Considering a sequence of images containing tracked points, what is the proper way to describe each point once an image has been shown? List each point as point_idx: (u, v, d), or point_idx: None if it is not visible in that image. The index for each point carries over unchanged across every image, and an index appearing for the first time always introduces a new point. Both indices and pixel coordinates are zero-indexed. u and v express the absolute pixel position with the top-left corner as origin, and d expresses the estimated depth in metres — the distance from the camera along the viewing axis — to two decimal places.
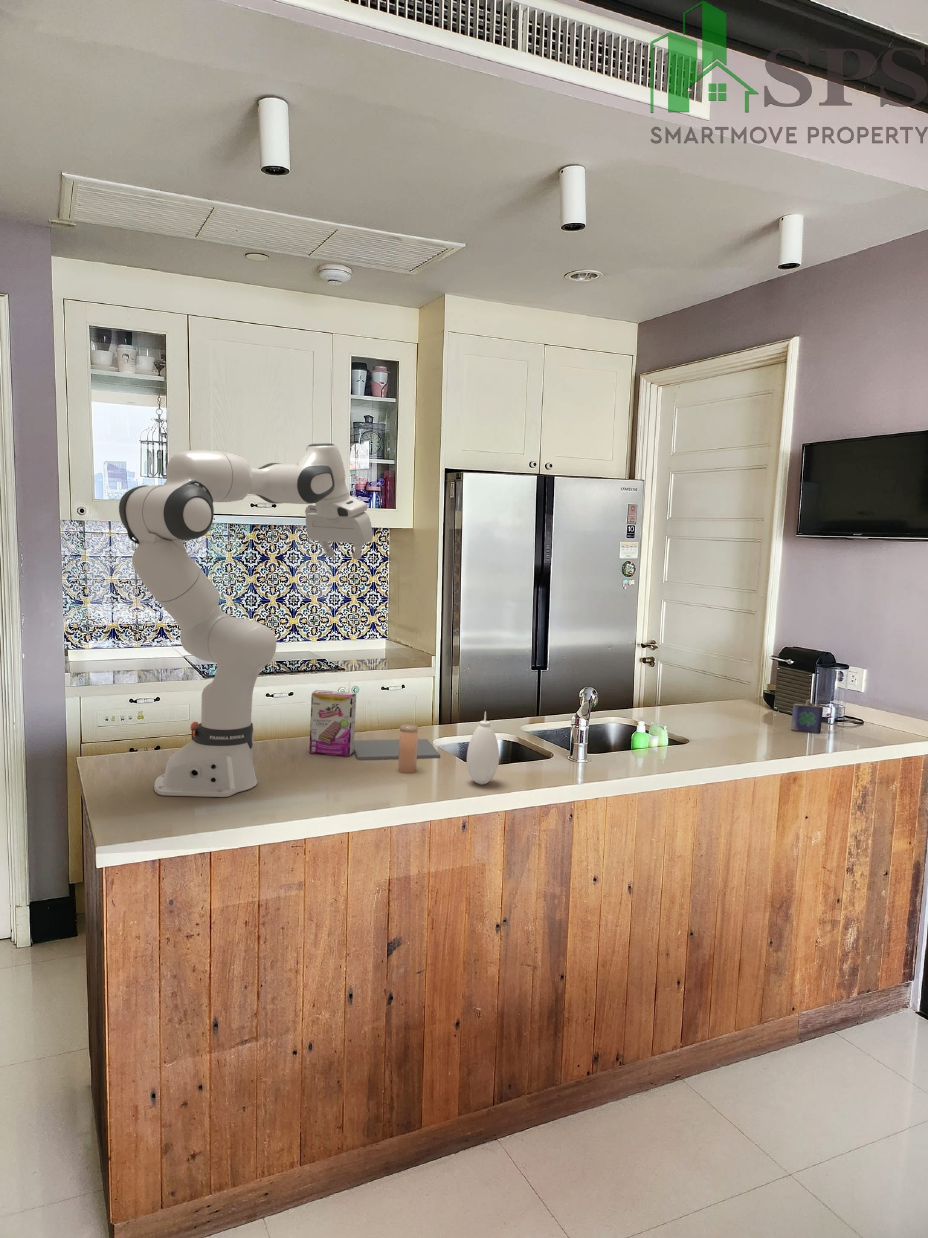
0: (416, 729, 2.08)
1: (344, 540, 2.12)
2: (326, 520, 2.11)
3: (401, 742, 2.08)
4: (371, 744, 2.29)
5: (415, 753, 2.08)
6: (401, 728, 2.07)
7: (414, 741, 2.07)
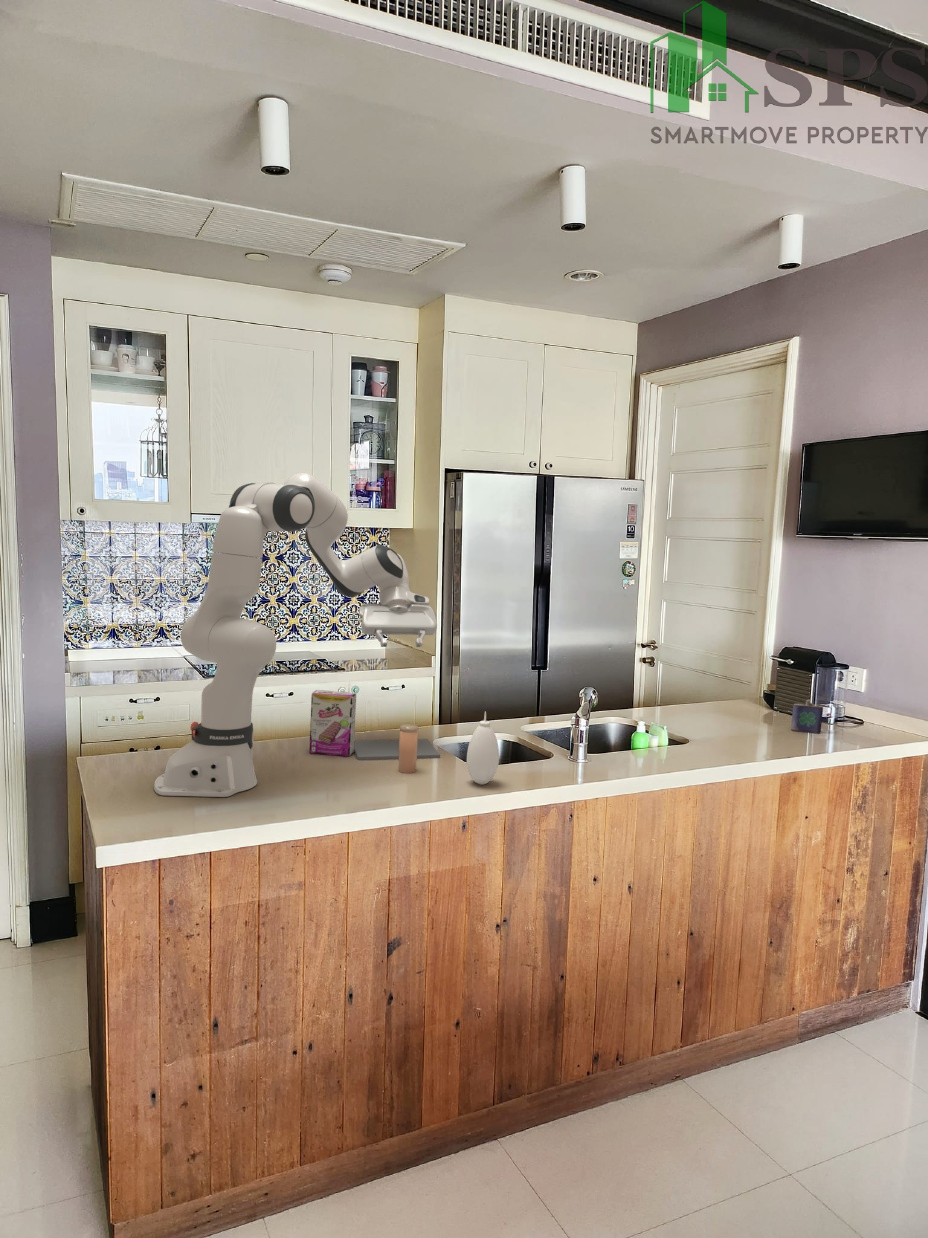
0: (416, 729, 2.08)
1: (413, 625, 2.22)
2: (397, 605, 2.23)
3: (401, 742, 2.08)
4: (371, 744, 2.29)
5: (415, 753, 2.08)
6: (401, 728, 2.07)
7: (414, 741, 2.07)
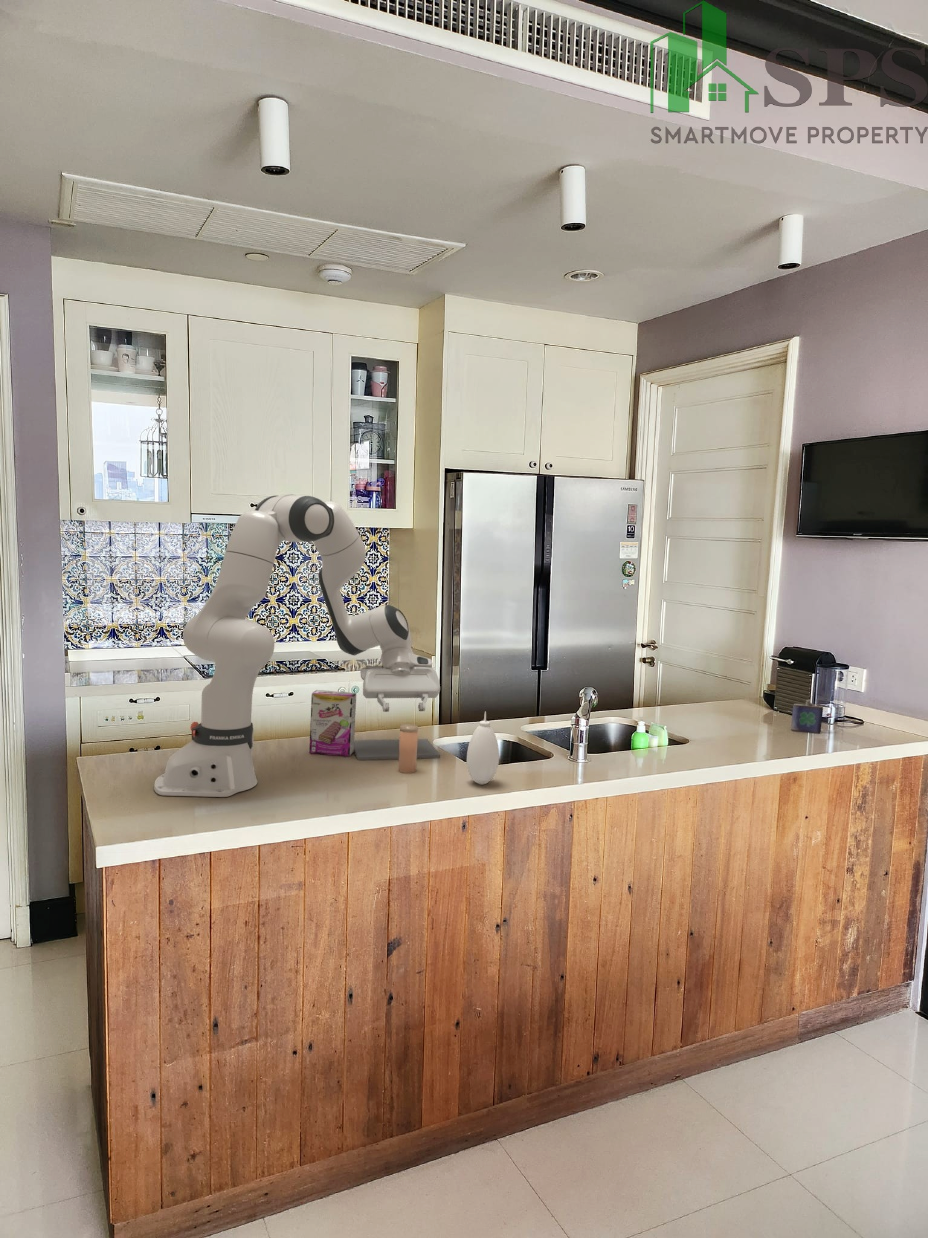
0: (416, 729, 2.08)
1: (415, 689, 2.17)
2: (400, 668, 2.19)
3: (401, 742, 2.08)
4: (371, 744, 2.29)
5: (415, 753, 2.08)
6: (401, 728, 2.07)
7: (414, 741, 2.07)
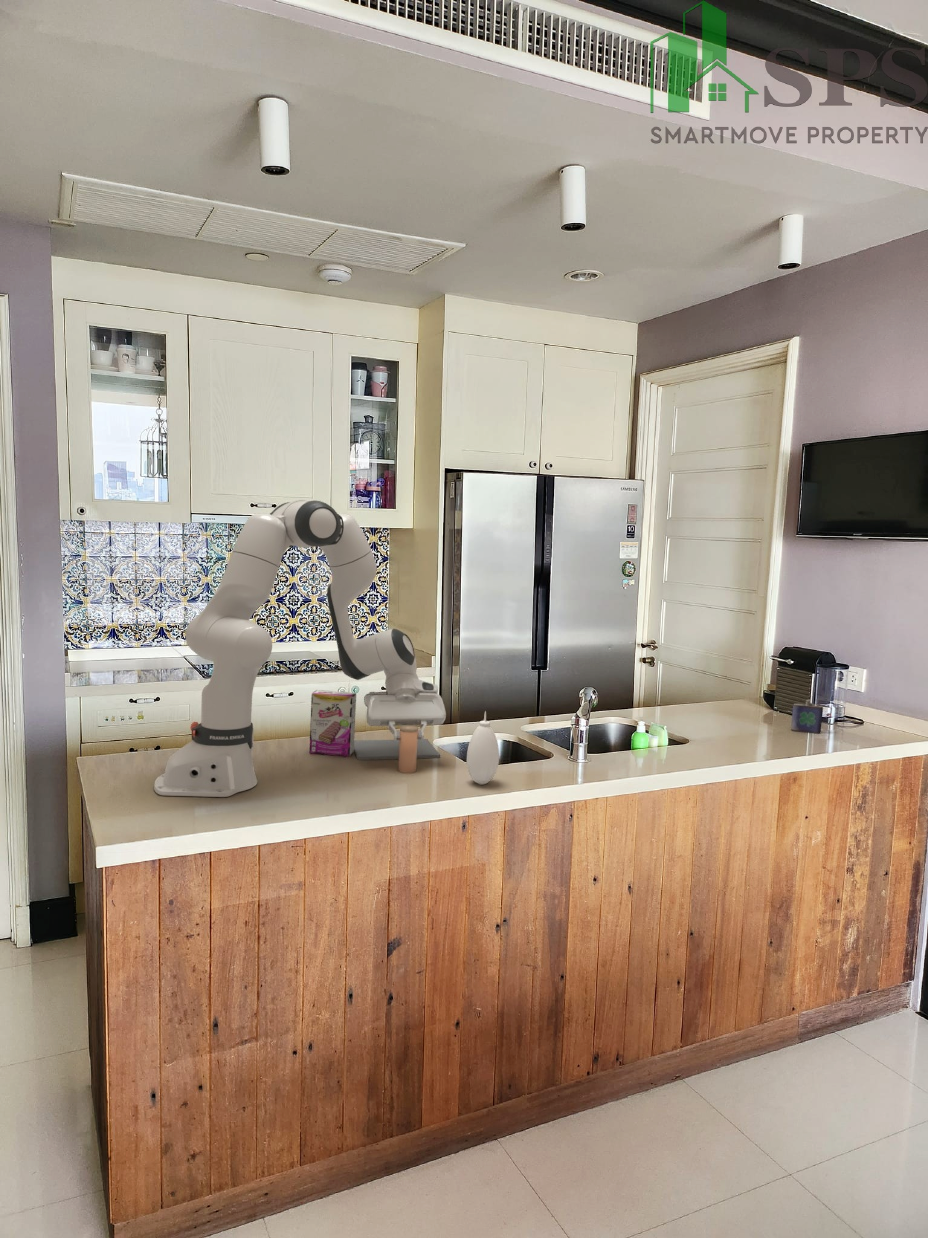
0: (416, 729, 2.08)
1: (421, 716, 2.11)
2: (404, 695, 2.12)
3: (401, 742, 2.08)
4: (371, 744, 2.29)
5: (415, 753, 2.08)
6: (401, 728, 2.07)
7: (414, 741, 2.07)
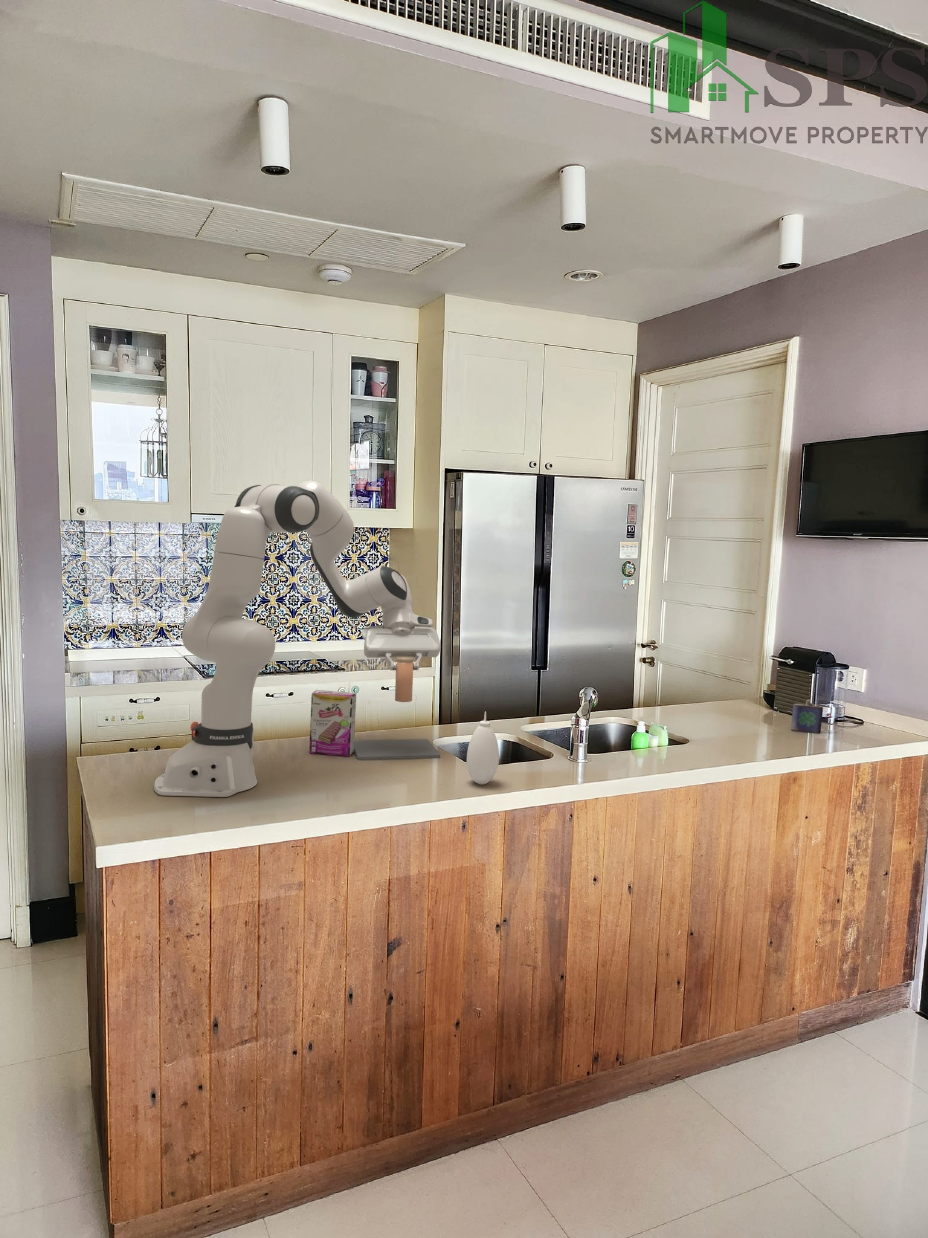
0: (411, 660, 2.16)
1: (416, 648, 2.19)
2: (400, 628, 2.21)
3: (397, 672, 2.16)
4: (371, 744, 2.29)
5: (411, 683, 2.17)
6: (397, 659, 2.16)
7: (410, 671, 2.16)
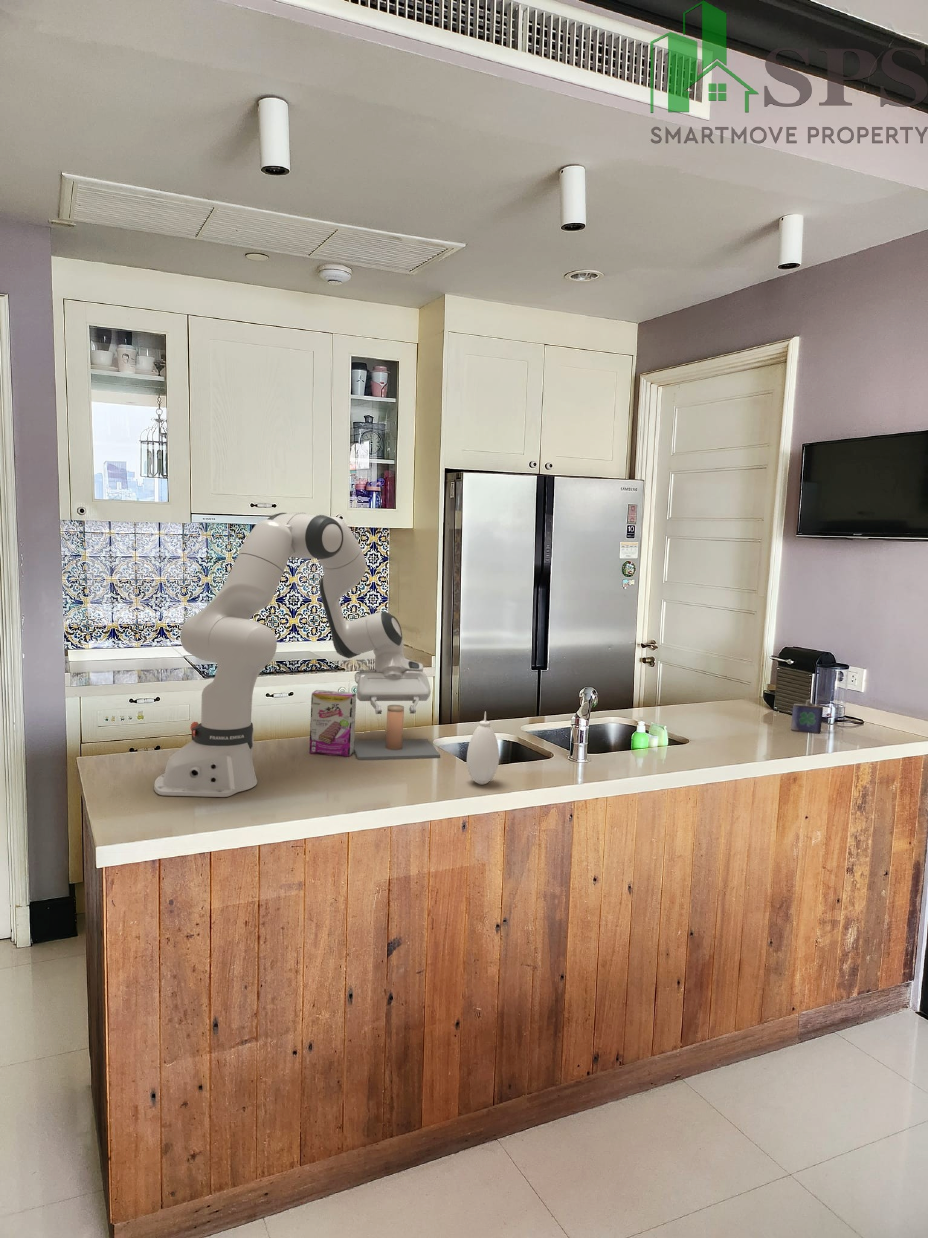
0: (402, 709, 2.25)
1: (407, 692, 2.28)
2: (392, 672, 2.29)
3: (388, 721, 2.25)
4: (371, 744, 2.29)
5: (401, 731, 2.25)
6: (388, 708, 2.24)
7: (400, 720, 2.25)
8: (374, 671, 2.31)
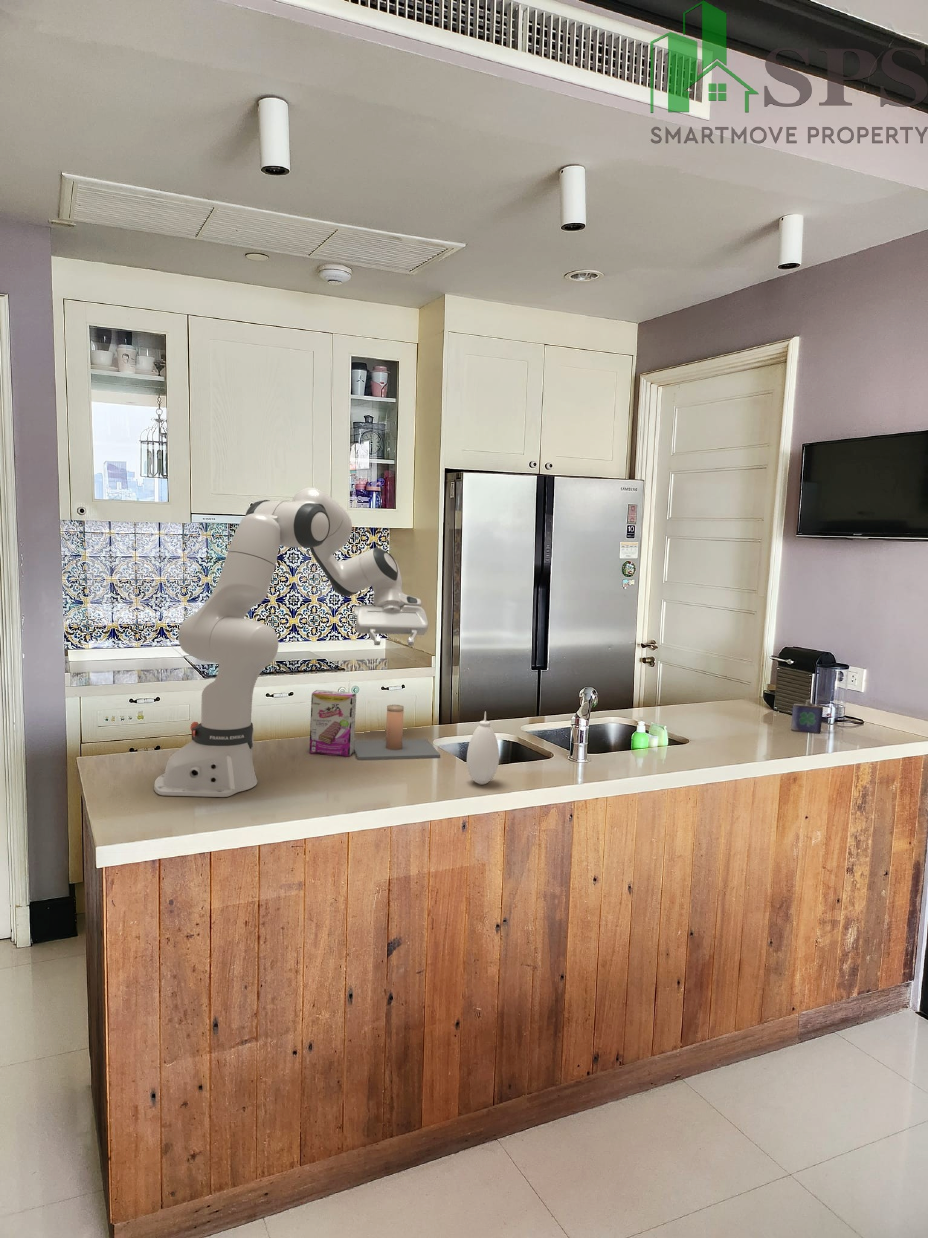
0: (402, 709, 2.25)
1: (405, 625, 2.33)
2: (391, 606, 2.34)
3: (388, 721, 2.25)
4: (371, 744, 2.29)
5: (401, 731, 2.25)
6: (388, 708, 2.24)
7: (400, 720, 2.25)
8: (373, 605, 2.36)
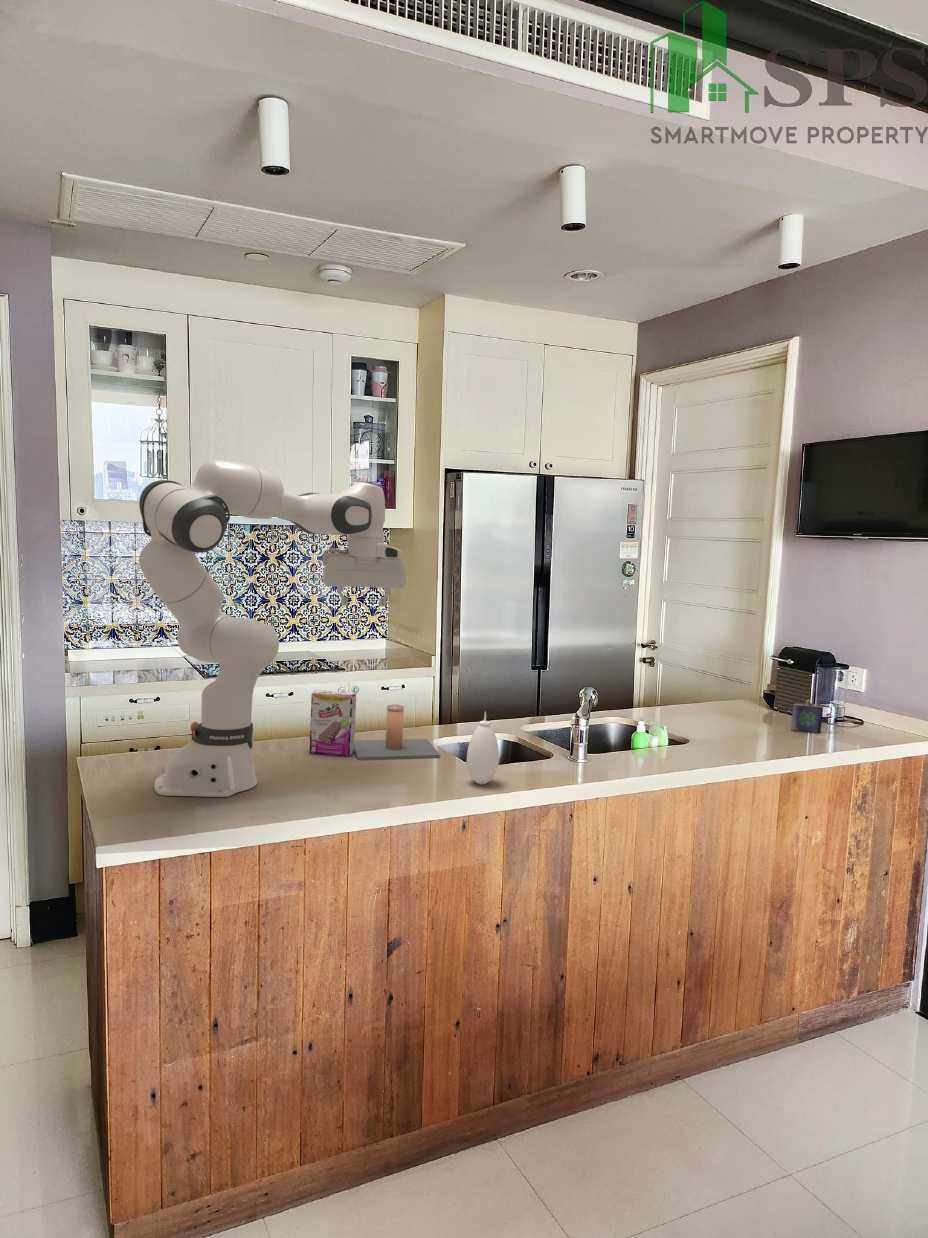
0: (402, 709, 2.25)
1: (379, 584, 2.04)
2: (365, 561, 2.01)
3: (388, 721, 2.25)
4: (371, 744, 2.29)
5: (401, 731, 2.25)
6: (388, 708, 2.24)
7: (400, 720, 2.25)
8: (345, 551, 2.02)
